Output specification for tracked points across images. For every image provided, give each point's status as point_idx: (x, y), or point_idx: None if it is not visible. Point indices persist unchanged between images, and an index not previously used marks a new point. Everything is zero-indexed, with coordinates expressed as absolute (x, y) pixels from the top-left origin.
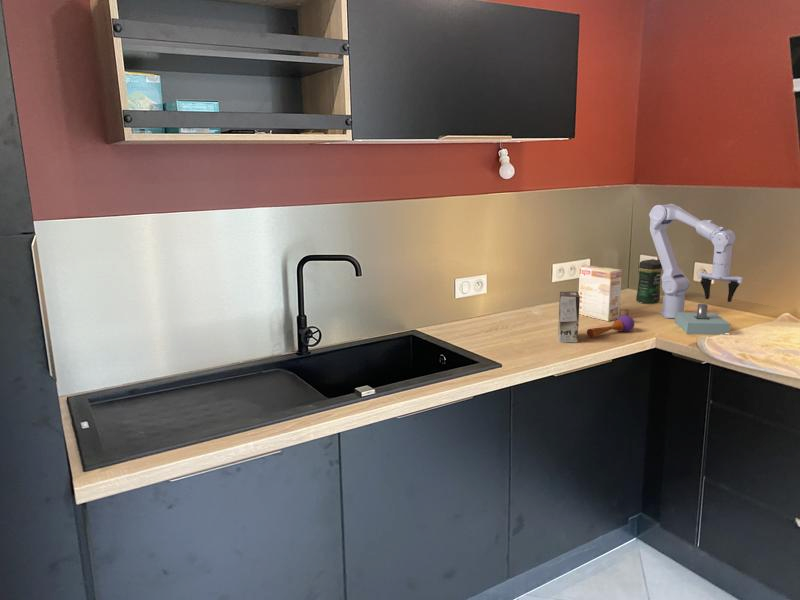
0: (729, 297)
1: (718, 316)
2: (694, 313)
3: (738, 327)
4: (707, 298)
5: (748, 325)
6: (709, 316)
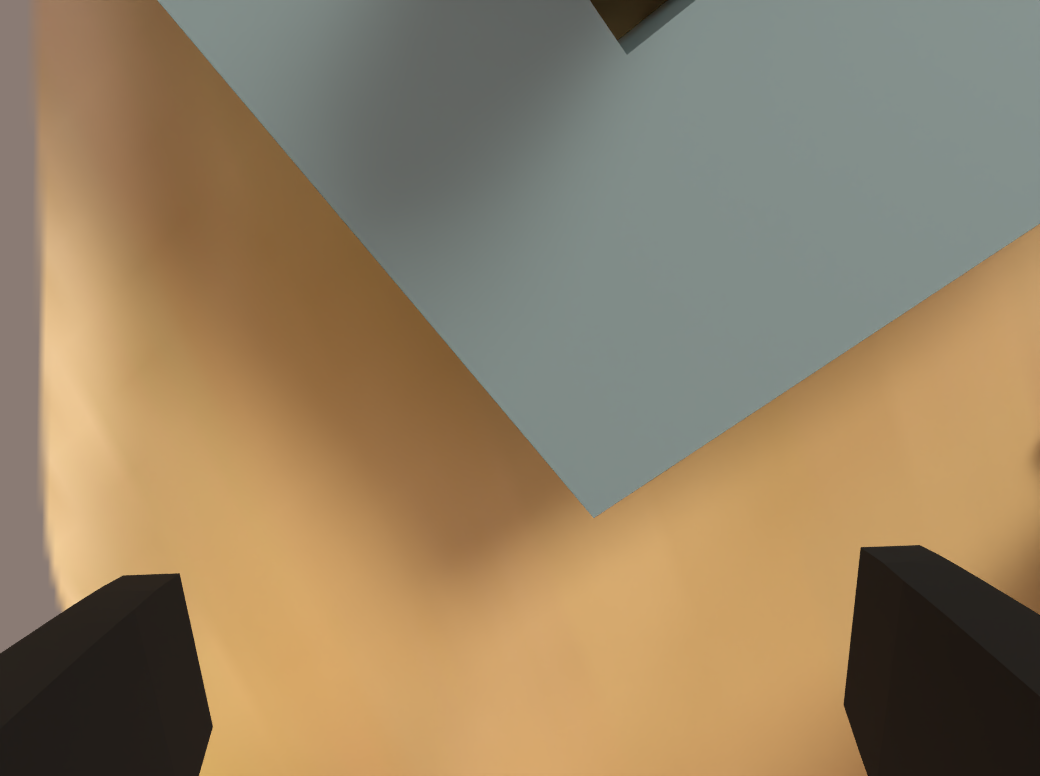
0: (22, 652)
1: (411, 249)
2: (961, 172)
3: (179, 422)
4: (867, 573)
5: None
6: (568, 97)
